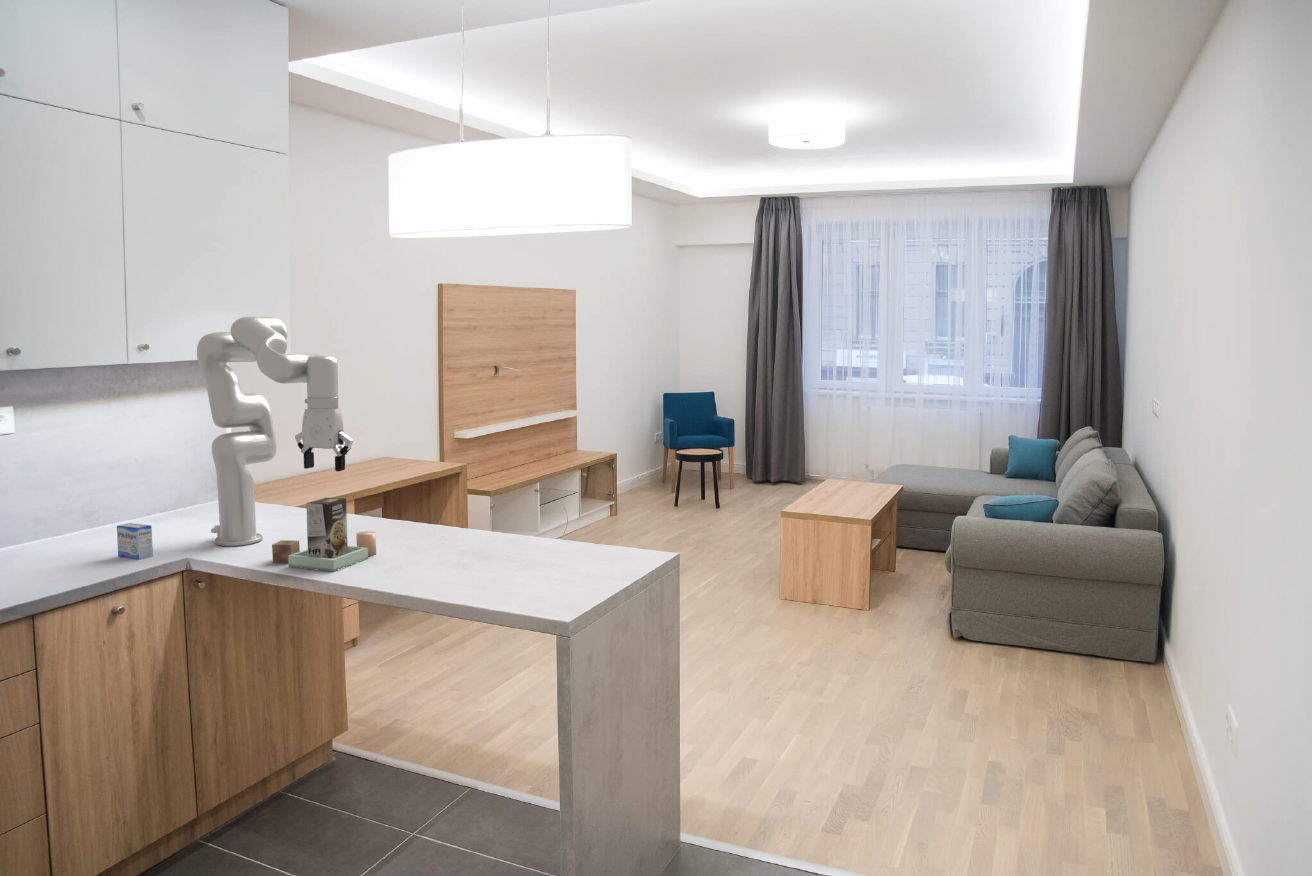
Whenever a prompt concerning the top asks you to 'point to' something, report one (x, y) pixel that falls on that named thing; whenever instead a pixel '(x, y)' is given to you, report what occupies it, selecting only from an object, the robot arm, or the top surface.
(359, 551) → the tray
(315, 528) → the coffee box
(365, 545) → the light brown rounded block
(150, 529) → the medicine box
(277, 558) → the walnut block
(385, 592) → the top surface
